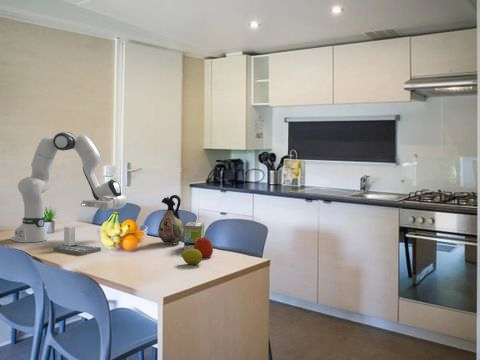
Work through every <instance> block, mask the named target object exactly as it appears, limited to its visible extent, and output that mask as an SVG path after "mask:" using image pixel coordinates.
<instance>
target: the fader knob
mask: <svg viewBox="0 0 480 360" xmlns="http://www.w3.org/2000/svg"><path fill="white" fill-rule="evenodd" d="M76 244H77V243H76V226H72V225H71V226H70V225H69V226H64V227H63V244H62V245H61V246H67V247H73V246H77V245H76Z"/></svg>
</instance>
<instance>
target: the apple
mask: <svg viewBox="0 0 480 360" xmlns="http://www.w3.org/2000/svg"><path fill="white" fill-rule="evenodd" d="M194 249H197V250H199V251H200V252H201V254H202V258H210V257H211V256H212V255H213V252H214V248H213V243H212V241H211V240H210V239H209V238H208V237H204V238H199V239H198V240H197V241H196V243H195V245H194Z"/></svg>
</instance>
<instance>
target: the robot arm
mask: <svg viewBox="0 0 480 360" xmlns="http://www.w3.org/2000/svg"><path fill="white" fill-rule="evenodd" d="M69 150H74V151H75V152H76V153H77V155H78V156H79V158H80V160H81V162H82V170H83V171H82V172H83V175H84V176H85V179H86V180H87V182H88V185H89V187H90V190H91V193H92V196H93V199H85V200H84V199H83V200H82V201H81V203H80V206H81V207H84V208H85V207H86V208H98V209H99V210H100V211H104V212H105V211H110V210H111V211H112V210H118V209H122V208H124V207H126V205H127V202H128V201H127V200H128V199H127V196H126V195H125V194H124V193H123V192H122V190H121V186H120V184H119V183H118V182H117V180H114V179H110V180H107V181H106V182H104V183H102V184H100V182H99V181H98V178H97V176H96V173H95V170H96V167H97V166H98V165H99V163H100V160H101V155H100V152H99V150H98V149H97V147H96V145H95V144H94V143H93V141H92V140H91V139H90V138H89V137H88V136H87V135H85V134H82V135H77V136H75V135H74V133H72V132H70V131H61V132H59V133H56V134H55V135H54V137H53V138H51V137H43V138H41V140H40V141H39V143H38V145H37V147H36V150H35V152H34V154H33V158H32V161H31V163H30V167H31V176H26V177H24V178H22V179H21V180H19V182H18V184H17V189H18V191H19V193H20V194H21V196H22V201H23V206H24V207H23V208H24V209H23V210H24V215H23V217H22V218H21V221H22V223H21V224H20V225H19V226H18V227H17V228H16V229H15V230H14V236H11V237H10V238H9V240H11V241H14V242H19V243H38V242H44V241H47V240H48V238H49V236H48V235H47V226H46V216H45V202H43V200H42V199H43V198H42V196H41V194H43V193H46V192H47V191H48V190H49V188H50V187H51V184H50V173H51V169H52V167H53V163H54V160H55V157H56V155H57V152H58V151H64V152H65V151H69Z"/></svg>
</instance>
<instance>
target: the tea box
mask: <svg viewBox="0 0 480 360" xmlns="http://www.w3.org/2000/svg"><path fill="white" fill-rule="evenodd" d="M183 237H184V241H183V252H184V251H186V250H188V249H194V245H195V243H196V241H197V240H198V239H199V238H205V222H195V221H194V222H191V221H188V222H187V223H186V224H185V225H184V234H183Z"/></svg>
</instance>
